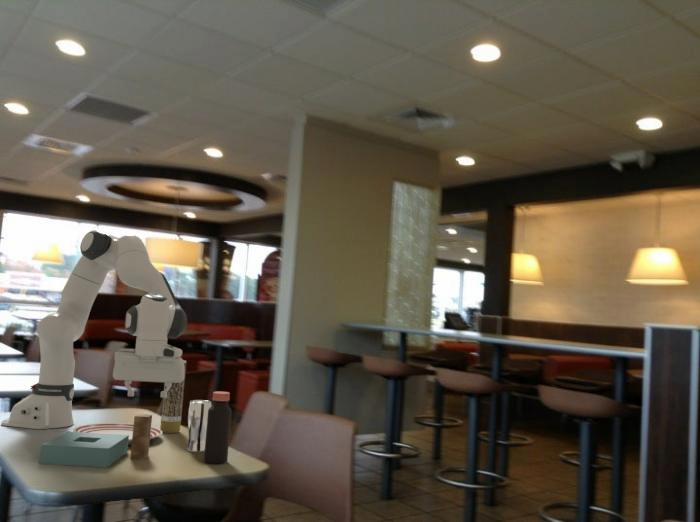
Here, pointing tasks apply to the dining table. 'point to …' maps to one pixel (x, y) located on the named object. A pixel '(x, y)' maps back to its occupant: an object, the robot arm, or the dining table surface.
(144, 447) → the walnut peg
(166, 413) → the paper tube
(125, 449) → the socket block
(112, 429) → the dinner plate
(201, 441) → the silver drink can
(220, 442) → the bottle
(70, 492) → the dining table surface
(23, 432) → the dining table surface
